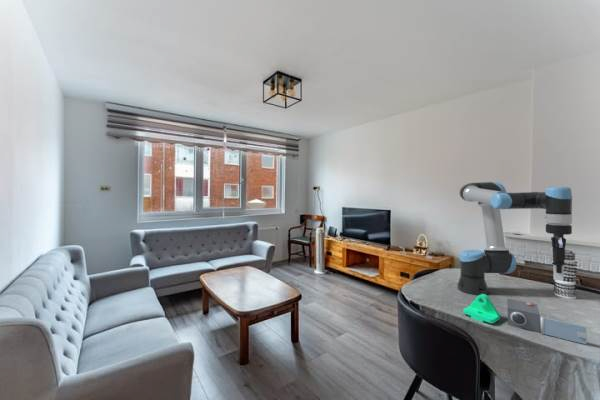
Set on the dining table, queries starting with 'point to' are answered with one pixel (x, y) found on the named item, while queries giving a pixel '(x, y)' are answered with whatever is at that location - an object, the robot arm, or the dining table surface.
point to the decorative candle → (567, 278)
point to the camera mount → (482, 310)
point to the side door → (563, 330)
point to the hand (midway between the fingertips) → (558, 279)
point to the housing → (523, 315)
